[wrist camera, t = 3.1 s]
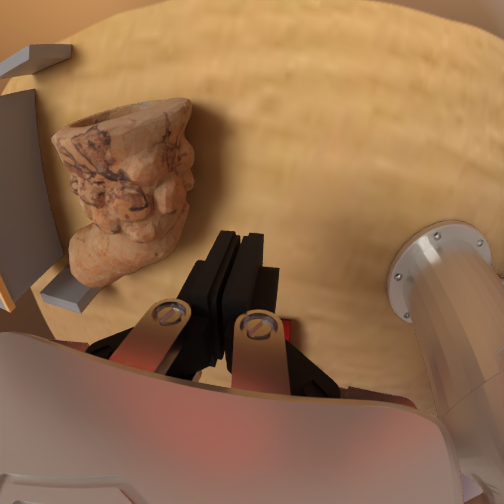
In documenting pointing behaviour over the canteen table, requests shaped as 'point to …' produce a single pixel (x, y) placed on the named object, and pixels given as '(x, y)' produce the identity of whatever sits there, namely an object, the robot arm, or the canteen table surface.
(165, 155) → the clay pipe
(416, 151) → the canteen table surface
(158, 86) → the canteen table surface
